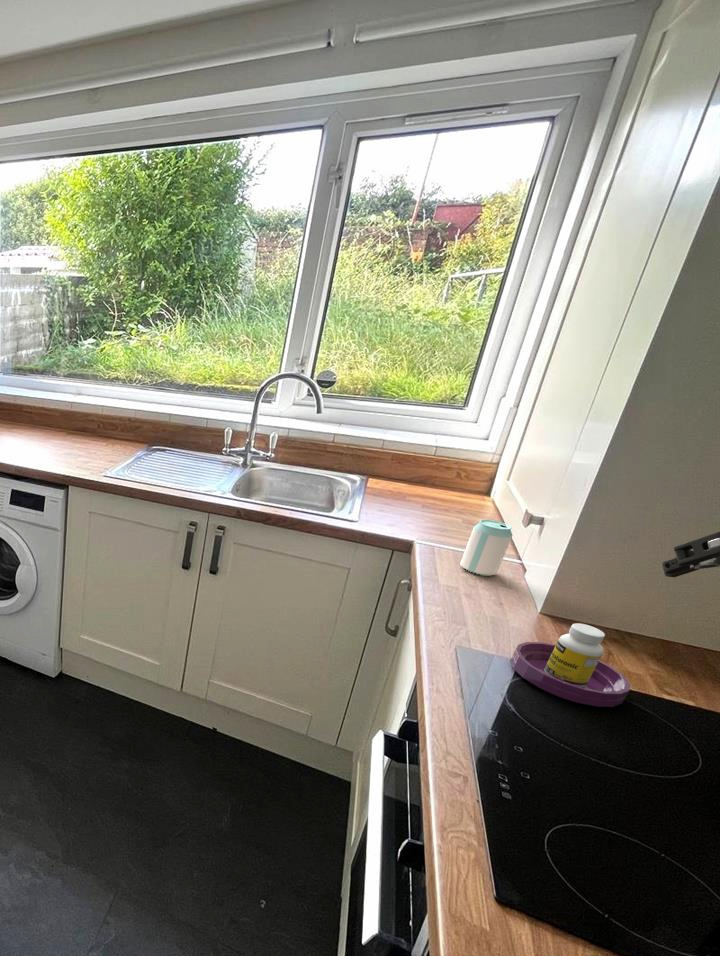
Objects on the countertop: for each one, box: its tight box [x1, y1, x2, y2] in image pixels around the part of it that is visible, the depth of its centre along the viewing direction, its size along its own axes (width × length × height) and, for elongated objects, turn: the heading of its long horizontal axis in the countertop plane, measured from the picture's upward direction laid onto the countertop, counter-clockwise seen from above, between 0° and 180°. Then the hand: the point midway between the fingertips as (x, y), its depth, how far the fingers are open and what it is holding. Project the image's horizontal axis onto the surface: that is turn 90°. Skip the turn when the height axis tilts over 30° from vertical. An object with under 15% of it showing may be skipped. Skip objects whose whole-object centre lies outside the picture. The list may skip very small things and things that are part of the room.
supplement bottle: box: [544, 622, 606, 687], centre depth 96 cm, size 5×5×10 cm
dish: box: [509, 641, 631, 708], centre depth 98 cm, size 14×14×3 cm
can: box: [459, 519, 513, 577], centre depth 136 cm, size 7×7×12 cm
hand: (703, 573), depth 78 cm, fingers open, 8 cm apart
